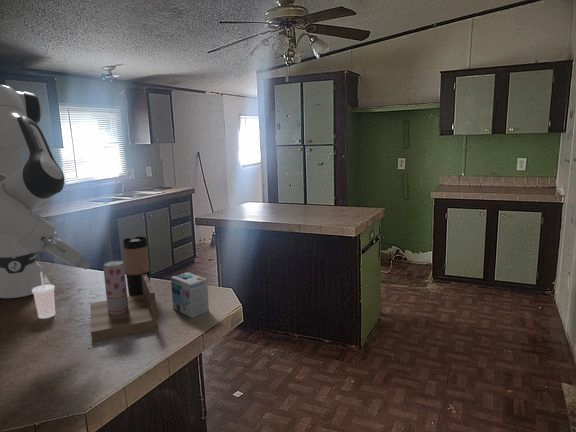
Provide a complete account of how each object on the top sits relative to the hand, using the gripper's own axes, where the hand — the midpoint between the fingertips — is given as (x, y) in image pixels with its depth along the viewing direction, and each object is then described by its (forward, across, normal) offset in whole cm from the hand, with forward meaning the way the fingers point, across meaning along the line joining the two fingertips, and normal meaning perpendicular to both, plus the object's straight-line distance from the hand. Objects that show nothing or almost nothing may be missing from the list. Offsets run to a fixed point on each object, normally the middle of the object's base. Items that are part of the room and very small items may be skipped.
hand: (81, 263), depth 115 cm
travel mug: (+30, +15, -2) cm, 34 cm away
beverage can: (+18, 0, +6) cm, 19 cm away
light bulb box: (+34, -9, -5) cm, 36 cm away
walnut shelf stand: (+21, 0, +7) cm, 22 cm away
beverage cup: (+11, +21, +18) cm, 30 cm away
